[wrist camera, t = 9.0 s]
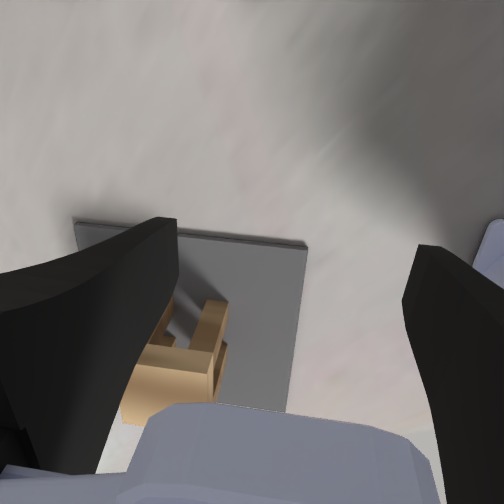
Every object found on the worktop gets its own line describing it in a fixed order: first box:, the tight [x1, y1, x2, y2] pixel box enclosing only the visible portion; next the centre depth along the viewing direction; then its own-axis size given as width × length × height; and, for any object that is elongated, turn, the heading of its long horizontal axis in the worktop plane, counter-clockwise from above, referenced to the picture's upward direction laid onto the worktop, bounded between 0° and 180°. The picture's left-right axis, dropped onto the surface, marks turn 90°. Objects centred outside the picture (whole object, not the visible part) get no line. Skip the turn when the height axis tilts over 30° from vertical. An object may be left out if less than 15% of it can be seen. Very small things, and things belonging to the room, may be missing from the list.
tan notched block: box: [120, 295, 229, 426], centre depth 24 cm, size 5×5×6 cm
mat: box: [74, 222, 308, 413], centre depth 27 cm, size 14×14×1 cm
